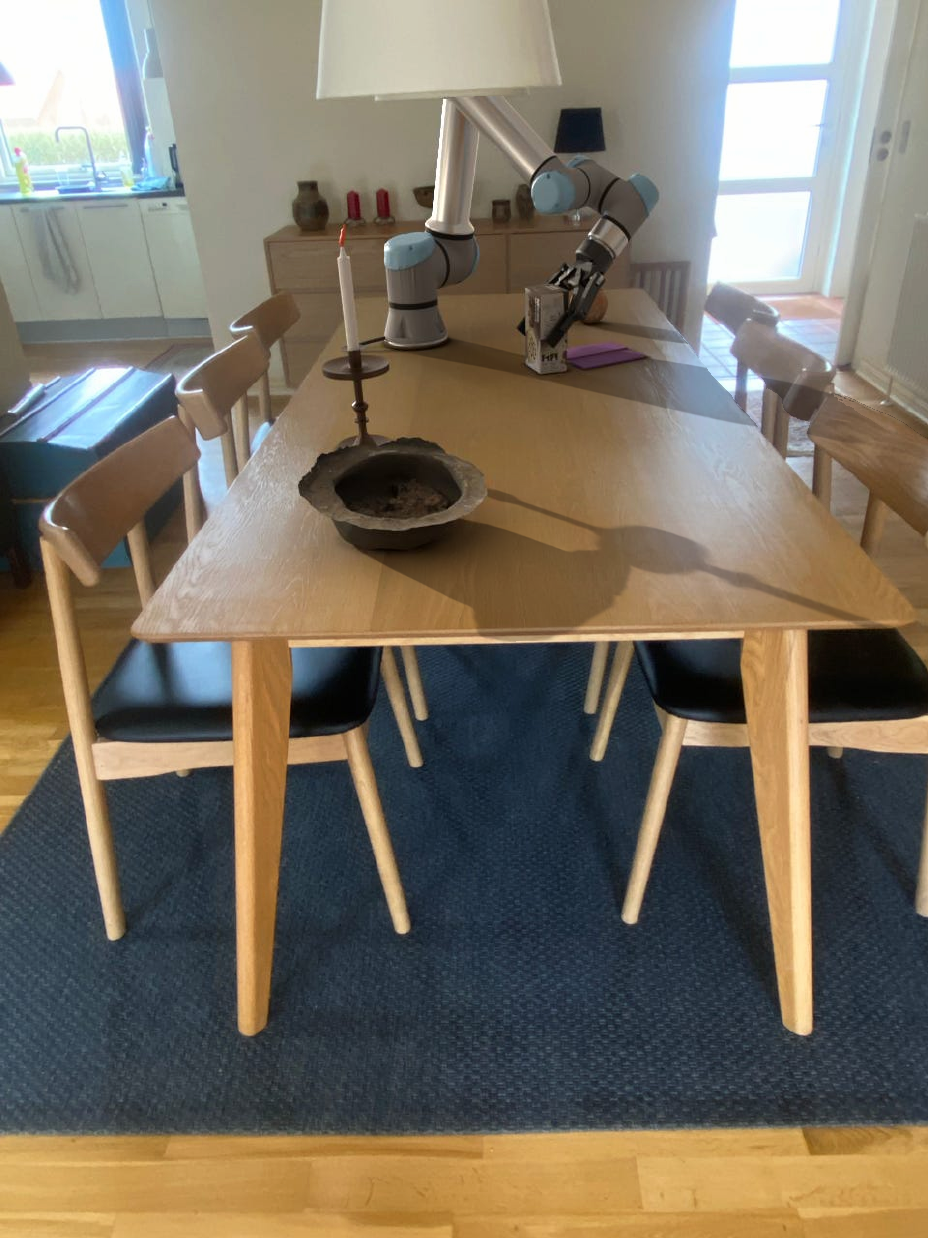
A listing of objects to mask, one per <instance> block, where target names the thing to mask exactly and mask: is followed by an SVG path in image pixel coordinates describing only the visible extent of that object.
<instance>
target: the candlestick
mask: <svg viewBox="0 0 928 1238" xmlns="http://www.w3.org/2000/svg"><path fill="white" fill-rule="evenodd" d="M345 241H346V224H345V223H344V224H343V227H342V229H341V230H340V237H339V241H338V243H339V246H340V249H339V250H340V252H339V256H338V257H336V259H337V267H338V274H339V275H338V276H339V284H340V285H339V286H340V293H341V301H342V311H343V318H344V319H343V320H344V328H345V336H346V345H344V346H342V347H341V348H340V349H341V351H343V352H347V355H344V356H339V357H336V358H333V359H329V360H327V361H325V362H324V363H323V364H322V365H321V371H322V375H323V377H325V378H326V379H329V380H334V381H345V382H347V381H348V382H349V381H351V382H353V389H354V390H353V391H354V399H355V400H354V401H355V402H353V403H352V404H351V408H352V411H353V412H354V413H356V418H354V424H357V427H358V434H357V435H353V436H349V437H347V438H344V439H343V440H341V441H340V442H338V445H337V449H338V448H339V447H341V448H342V449H344V448H345V447H346V446H349V447H351V446H355V445H359V446H362V445H365V446H368V445H370V447H377V446H379V445H382V444H384V443H387V442H391V441H392V440H391V439H390V438H389V437H387V436H385V435H381V434H374V433H373V434H369V432H368V428H367V426H368V425H367V423H369V422H370V418H369V417H368V416H367V414H366V412H367V411H368V409H369V407H370V405H369V403H368V402H367V401H365V400H364V391H363V383H362V382H363V381H365V380H369V379H374V378H378V377H381V376H384V375H385V374H387V373H388V372H389V371H390V369H391V368H390V361H389V359H388V358H386V357H384V356H380V355H374V354H362V350H365V349H366V348H367V346H366V345H359V343H360V340H359V331H358V321H357V313H356V304H355V294H354V285H353V274H352V266H351V258H350V256H348V255H347V253H346V250H345V247H344V246H345Z"/></svg>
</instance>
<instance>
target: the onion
mask: <svg viewBox="0 0 928 1238" xmlns="http://www.w3.org/2000/svg"><path fill="white" fill-rule="evenodd" d="M571 299H572V296H571V297H570V299H569V303H570V302H571ZM608 307H609V299H608V297H607V294H606V293H605V292H604V290H603V289H602V287H601V288H600V290H599V292H598V294H597V296H596V298H595V300H594V302H593V304H592V306H591V309H590V311H589V313H588V315H587V317H586V319H585V320H584V321H581V320H578V321H577V322H580V324H583V325H586V324H587V325H588V324H595V323H600V321H602V320H603V319H604V317H605V315H606V314H607V311H608ZM581 311H582V312H583V310H581Z"/></svg>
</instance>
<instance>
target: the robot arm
mask: <svg viewBox="0 0 928 1238" xmlns="http://www.w3.org/2000/svg"><path fill="white" fill-rule="evenodd" d="M441 99H442V100H443V102H442V112H441V122H440V133H439V146H438V155H437V165H436V177H435V187H434V198H433V208H432V215H431V216H430V217H429V218H428V219H427V220H426V221H425V225H424V231H415V232H407V233H402V234H399V235H396V236H394V237H391V238H390V239H388V240H387V241H386V243H384V249H383V252H384V253H383V254H384V255H383V256H384V258H383V264H384V271H385V281H386V291H387V300H388V313H387V319H386V322H385V329H384V333H383V336H380V337H375V338H372V339H368V340H364V341H361V342H359V345H364V346H366V345H367V346H368V345H370V344H371V345H372V344H374V343H378V342H382V341H384V345H385V347H388V348H390V349H395V350H403V351H405V350H406V351H416V350H425V349H427V350H428V349H432V348H436V347H439V346H442V345H444V344H446V343H447V342H448V330H447V328H446V325H445V322H444V320H443V316H442V314H441V312H440V311H441V310H440V308H439V301H438V290H440V289H443V288H446V287H449V286H455V285H459V284H461V283H463V282H464V281H466V280H468V279H469V278H471V276H473V275H474V273H475V272H476V270H477V268H478V267H479V263H480V258H481V251H480V245H479V244H478V242H477V238H476V237H475V227H474V226H473V224H472V222H470V216H471V215H470V214H471V206H472V197H473V189H474V181H475V173H476V166H477V165H476V164H477V156H478V148H479V139H480V135H481V136H482V137H483V138H484V139H485V140H486V141H487V142H488V143H489V145H491V147H492V148H493V149H494V150H495V151H496V152H497V154H499V156H500V157H501V158H502V159H503V160H504V161H505V162H506V163H507V164H508V165H509V167H510V168H511V169H512V170H513V171H514V172H515V173H516V175H518V177H519V178H521V180H522V181H523V182H524V183H525V184H526V185H527V186H528V188H529V189H530V190H531V191H530V193H531V194H530V195H531V200H532V202H533V206H534V208H535V209H536V210H537V211H538V212H539V213H541V214H543V215H545V216H553V215H563V214H564V213H567V212H570V211H571V212H572V211H574V210H578V209H582V208H586V207H587V208H590V209H591V210H592V211H594V212H596V213H597V214H599V215H601V217H600V218H599V220H598V221H597V222H596V224H595V225H594V226H593V227H592V228H591V230H590V231H589V233H588V234H587V238H585V239H584V240H583V241H582V243H581V244H580V245H579V247H578V248H577V249H576V251H575V253H574V255H575V262H573V263H572V264H570V265H568V264H567V262H566V261H565V262H563V263H562V264H561V265H560V266H559V267H558V269H557V270H556V271H555V272H554V273H553V274H552V275H551V276H550V277H549V278H548V279H547V280H546V281H545V282H544V283H543V284H542V285H544V284H554V285H556V286H559V287H561V288H563V289H566V290H568V291H569V292H571V291H572V290H573V292H572V295H571V297H572V299H571V298H570V300H571V302H570V301H569V309H568V310H567V311H566V310H565V312H566V313H567V314H568V315H567V314H566V313H564V314H563V315H562V316H561V318H560V319H559V320H558V322H557V323H556V324H555V326H554V327H553V328H552V330H551V331H550V332H549V334H548V335H547V336H546V338H545V339H544V340H545V341H546V342H547V343H548V344H549V345H550V346H551V347H552V348H555V346H556V345H557V344H558V342H559V341H560V340H561V338H562V337H563V336H564V334H565V333H566V332H567V331H568V332H569V330H570V329H571V327H572V326H573V325H574V323H576V322H579V321H578V320H581V321H584V320H585V319H586V317H587V315H588V313H589V311H590V309H591V306H592V304H593V302H594V300H595V298H596V296H597V294H598V292H599V290H600V288H601V289H602V287H603V286H604V284H605V283H606V282H607V280H606V278H605V277H604V276H605V274H606V273H607V272H608V270H609V269H610V268H611V267H612V266H613V264H614V260H616V259H617V258H618V257H619V255H621V253H622V252H623V250H624V249H625V247H626V246H627V245H628V243H630V241H631V239H632V238H633V237H634V236H635V234H636V233H637V232H638V230H639V229H640V228H641V227H642V225H643V224H644V223H645V221H646V220H647V219H649V217H650V215H651V213H652V212H653V210H654V208H655V207H656V205H657V204H658V202H659V200H660V191H659V189H658V187H657V185H656V184H655V183H654V182H653V181H652V180H651V179H650V178H649V177H647V176H645V175H644V174H640V173H633V174H631V176H630V177H629V178H628V179H627V180H625V179H624V178H621V177H619V176H617V175H616V174H615V173H613V172H612V171H610V170H608V169H607V168H605V167H604V166H602V165H600V164H599V163H598V162H597V161H595V160H594V159H592V158H589V157H587V156H586V155H582V154H577V155H575V156H574V157H573V158H572V159H570V160H569V162H567V164H566V165H565V163H564V162H563V161H562V160H561V159H560V158H559V157H558V156H557V154H556V153H555V152H554V151H553V150H552V149H551V148H550V147H549V146H548V145H547V143H546V142H545V141H544V140H543V139H542V137H540V135H538V134H537V132H535V130H534V129H533V128H532V126H530V124H528V122H527V121H526V120H525V119H524V118H523V117H522V115H521V114H519V113H518V112H517V110H516V109H515V108H514V107H513V106H512V105H511V104H510V103H509V102H508V101H507V100H506V98H505V97H504V96H503V95H502V96H474V97H444V98H441ZM581 310H583V312H582V311H581ZM516 329H517V330H518V332H519V333H520V334H522V336H524V337H526V331H525V316H524V317H523V318H522V319H521V320H520V322H519V324H518V325H517V326H516Z"/></svg>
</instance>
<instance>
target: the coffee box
mask: <svg viewBox="0 0 928 1238" xmlns="http://www.w3.org/2000/svg"><path fill="white" fill-rule="evenodd" d="M543 284H544V283H543ZM543 284H538V285H533V286H525V287H524V313H525V314H524V317H525V331H526V336H525V365H526V366H527V367H529V368H530V369H532V370H533V371H535V372H536V373H538V374H539V375H546V374H554V373H563V372H567V370H568V362H567V349H568V342H569V341H568V339H569V334H568V333H569V330H568V331H567V332H566V333H565V334H564V336H563V337H562V338H561V340H560V341H559V342H558V344H557V345H556V346H555V348H552V347H551V346H550V345H549V344H548V343H547V342H546V341H545V340H544V339H545V338H546V336H547V335H548V334H549V332H550V331H551V330H552V328H553V327H554V326H555V324H556V323H557V322H558V320H559V319H560V318H561V316H562V315H563V314H564V313H566V312H565V310H566V311H567V310H568V309H569V306H570V299H569V298H570V291H568V290H566V289H563V288H561V287H559V286H556V285H554V284H544V285H543ZM566 314H567V313H566ZM567 315H568V314H567Z"/></svg>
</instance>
